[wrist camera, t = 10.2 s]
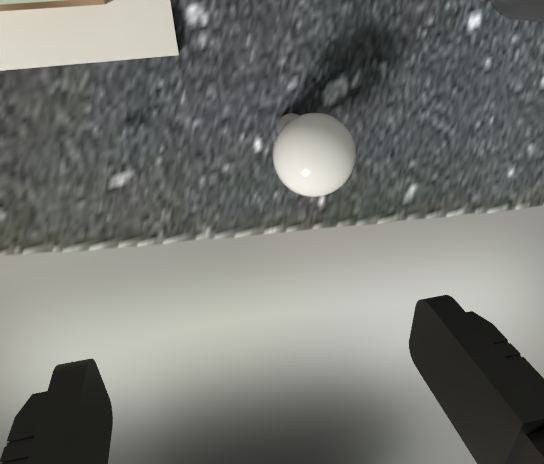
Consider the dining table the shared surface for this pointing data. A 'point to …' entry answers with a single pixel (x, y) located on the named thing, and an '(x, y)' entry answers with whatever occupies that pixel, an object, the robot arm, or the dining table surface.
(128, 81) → the dining table surface
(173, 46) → the base board
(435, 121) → the dining table surface
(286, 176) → the lightbulb
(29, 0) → the sage block
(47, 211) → the dining table surface
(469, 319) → the robot arm
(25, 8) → the walnut block
